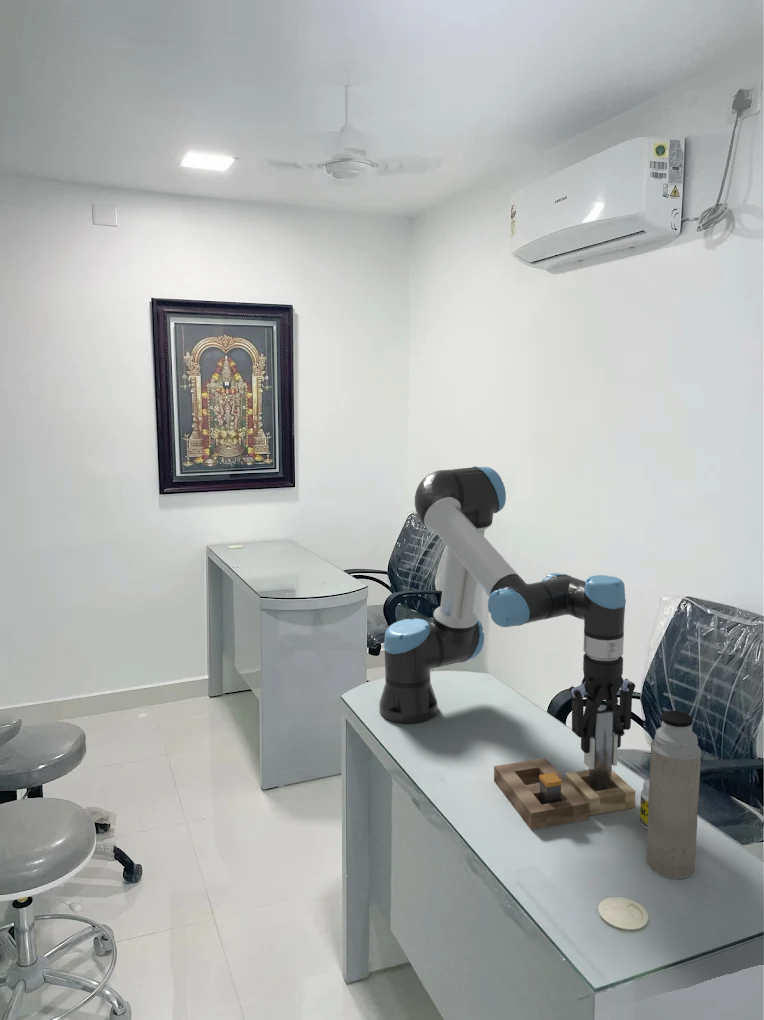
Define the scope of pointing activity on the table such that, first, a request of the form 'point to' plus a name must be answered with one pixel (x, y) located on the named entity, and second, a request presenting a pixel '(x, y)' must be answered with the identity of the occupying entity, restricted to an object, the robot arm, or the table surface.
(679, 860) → the thermos bottle
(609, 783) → the grey metal cylinder
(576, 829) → the table surface
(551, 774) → the key
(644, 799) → the supplement bottle
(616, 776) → the frame
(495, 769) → the socket block
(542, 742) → the table surface
